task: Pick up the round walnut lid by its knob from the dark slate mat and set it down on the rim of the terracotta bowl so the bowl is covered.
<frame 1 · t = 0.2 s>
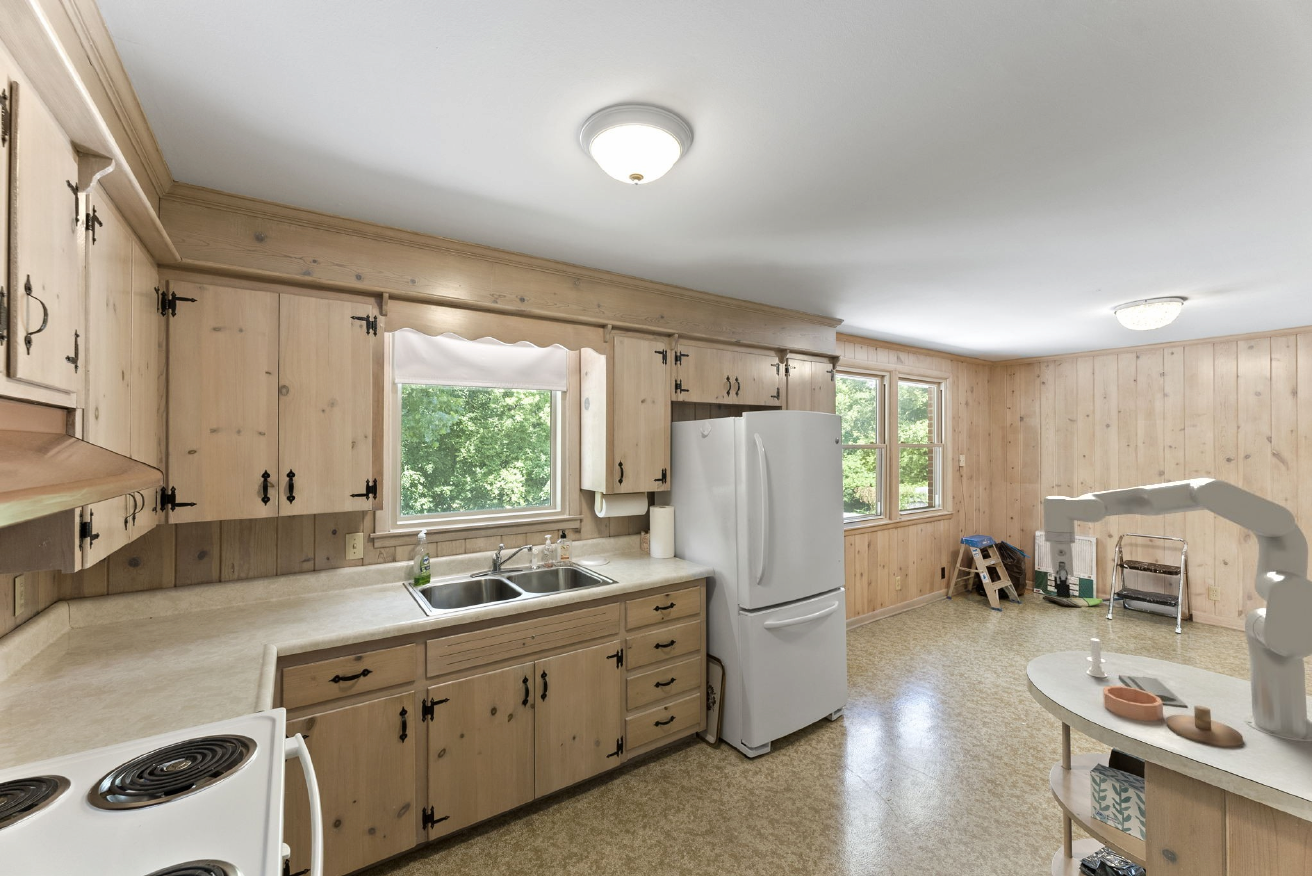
hand: (1062, 593, 167), 31 cm above the countertop, fingers open, 9 cm apart
lid: (1203, 732, 142), point 1 cm above the countertop, touching mat
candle: (1096, 674, 181), on the countertop
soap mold: (1151, 696, 166), on the countertop
bowl: (1132, 713, 155), on the countertop
mat: (1203, 736, 142), on the countertop
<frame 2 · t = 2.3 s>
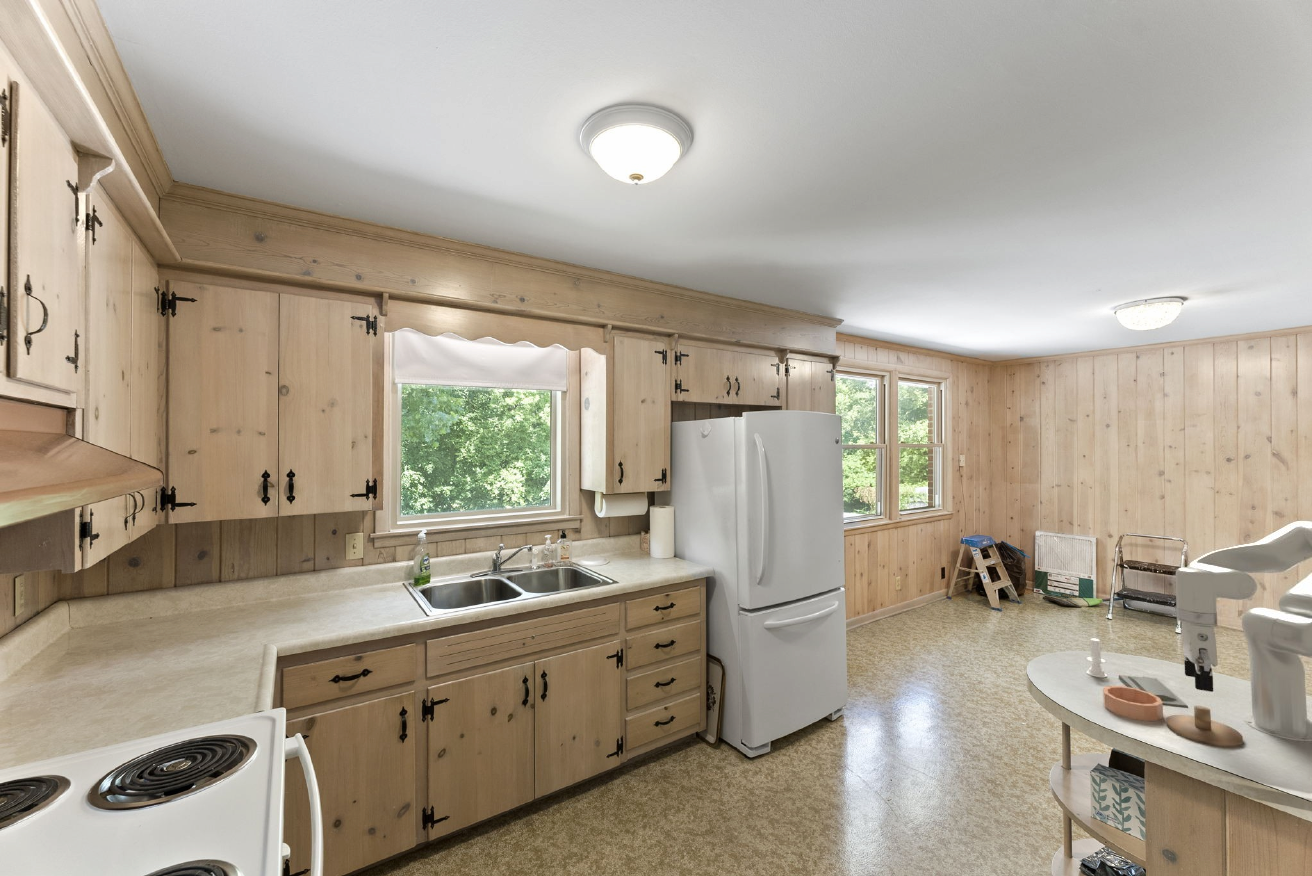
hand: (1198, 683, 142), 14 cm above the countertop, fingers open, 9 cm apart
nothing on the countertop moved.
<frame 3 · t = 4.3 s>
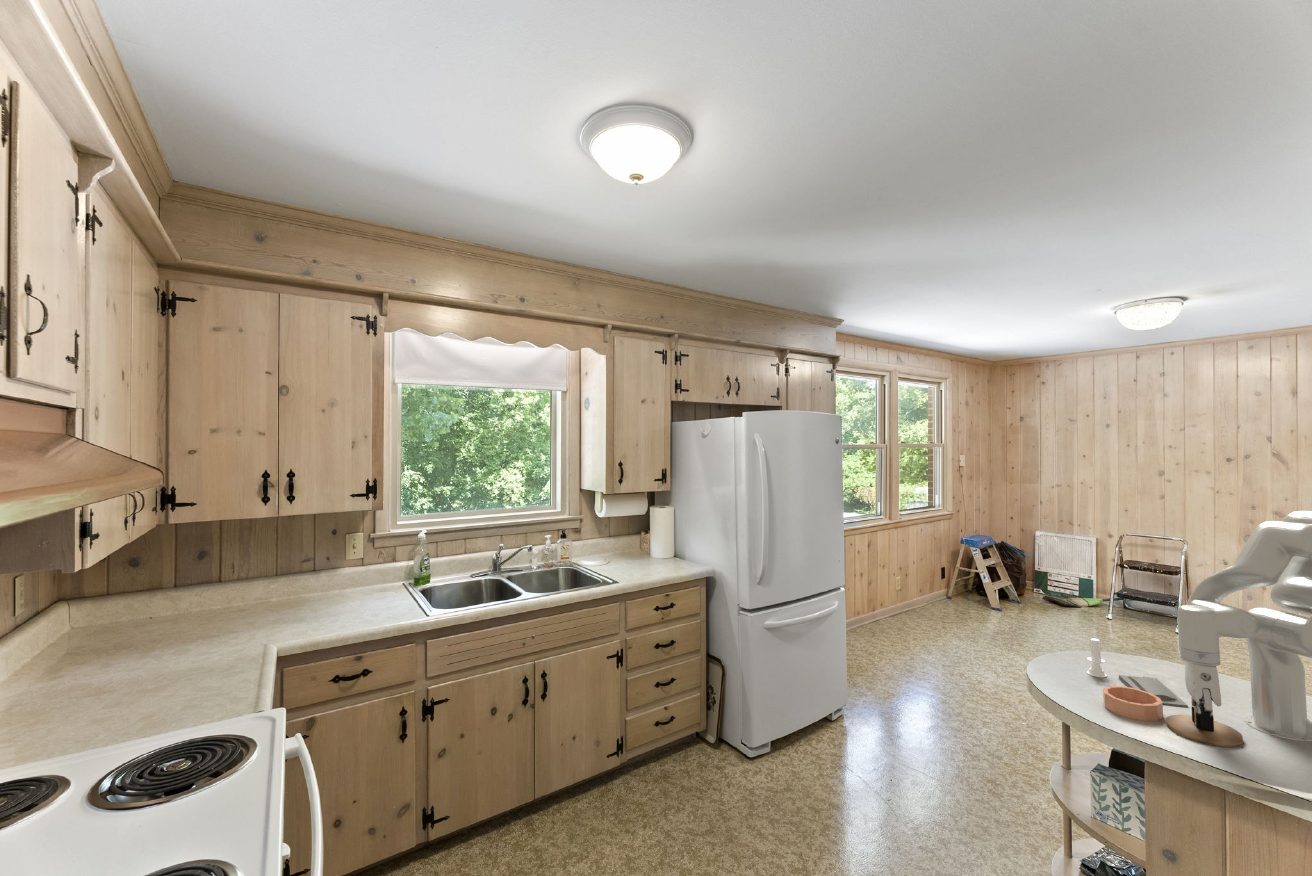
hand: (1203, 725, 142), 3 cm above the countertop, fingers closed on lid, 3 cm apart
lid: (1203, 732, 142), point 1 cm above the countertop, touching gripper, mat
everything else where it was.
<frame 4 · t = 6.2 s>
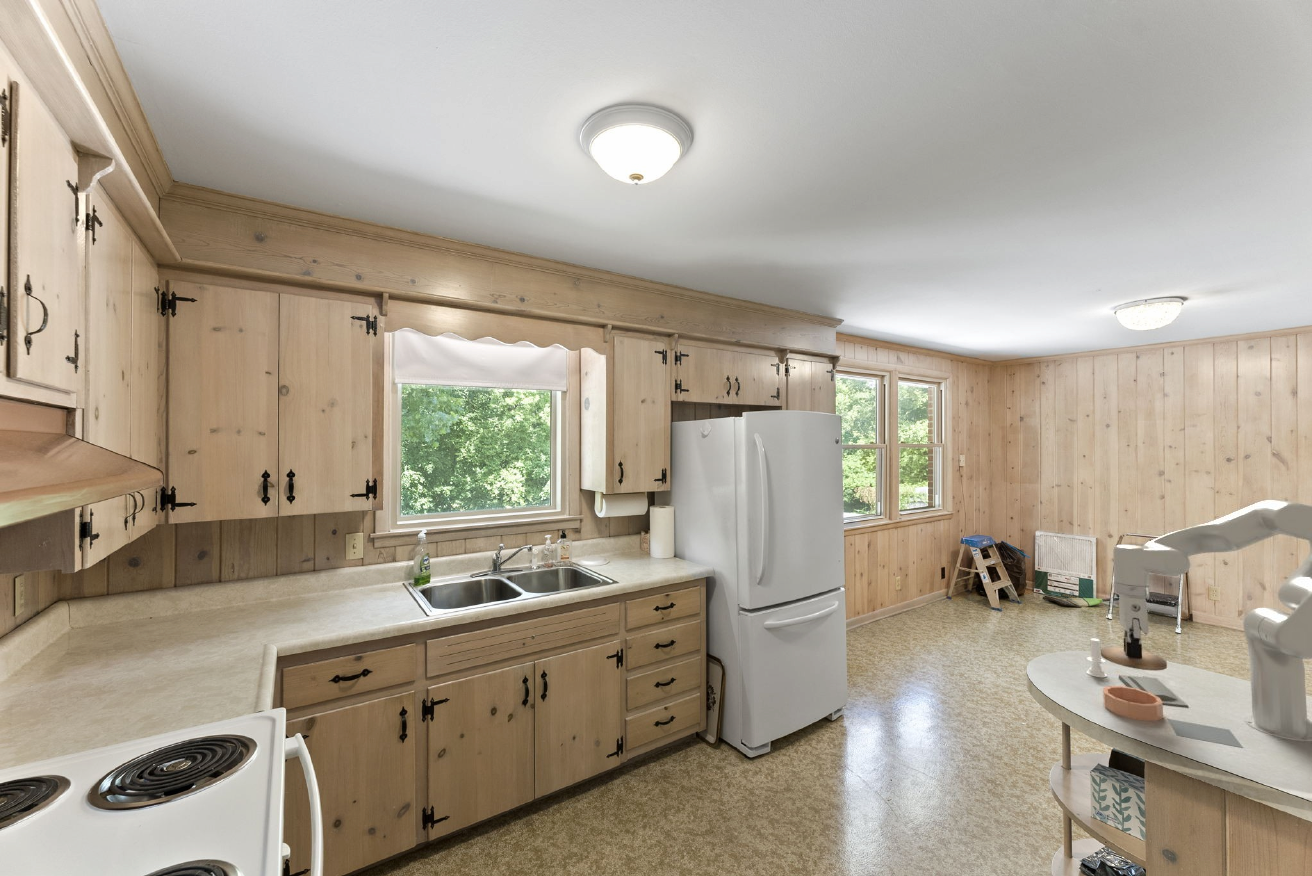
hand: (1132, 654, 154), 17 cm above the countertop, fingers closed on lid, 3 cm apart
lid: (1132, 660, 154), point 15 cm above the countertop, touching gripper
everything else where it was.
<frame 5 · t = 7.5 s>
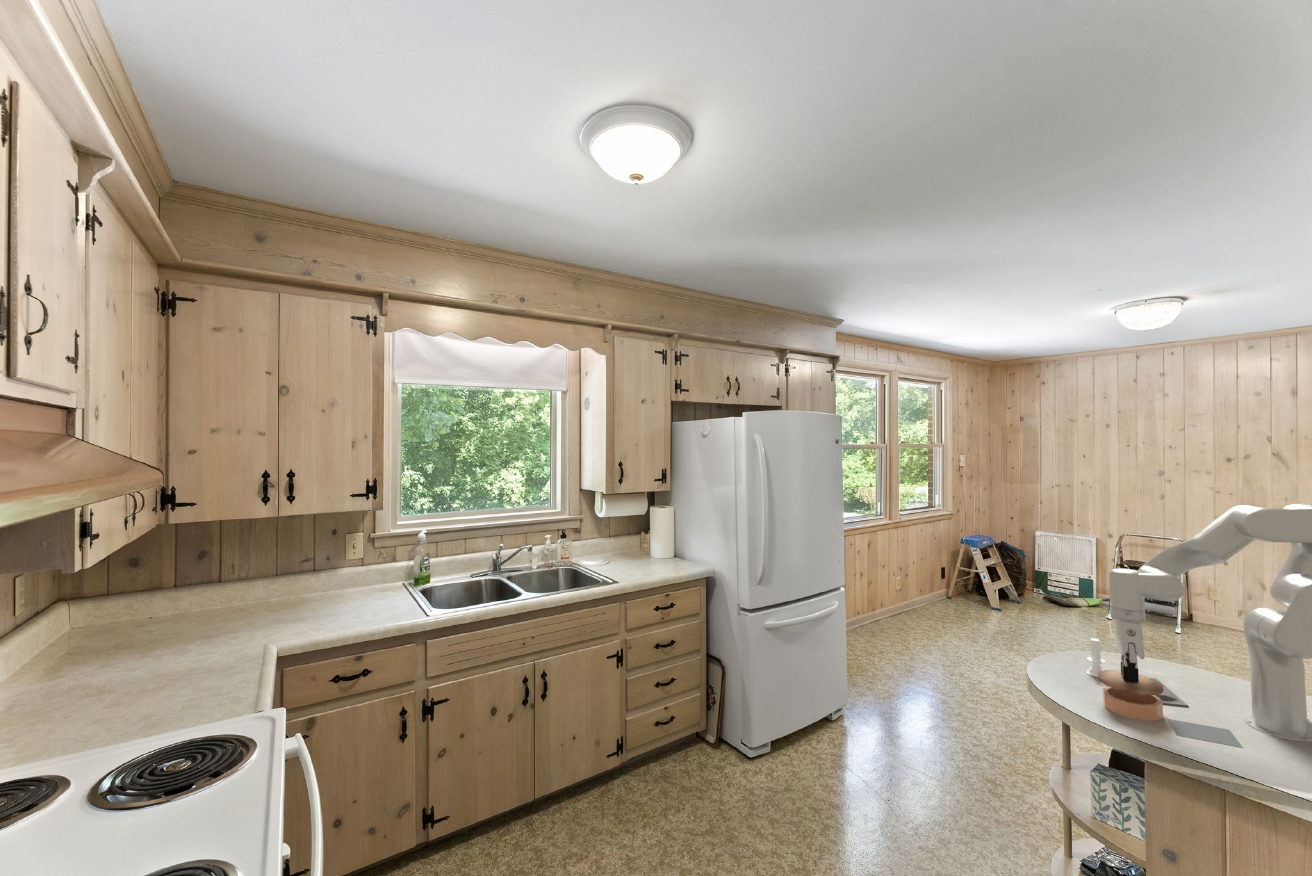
hand: (1129, 678, 155), 10 cm above the countertop, fingers closed on lid, 3 cm apart
lid: (1129, 684, 155), point 8 cm above the countertop, touching gripper
everything else where it was.
when the fingers open (8 cm above the countertop, at t = 8.4 s): lid drops 1 cm, resting on bowl.
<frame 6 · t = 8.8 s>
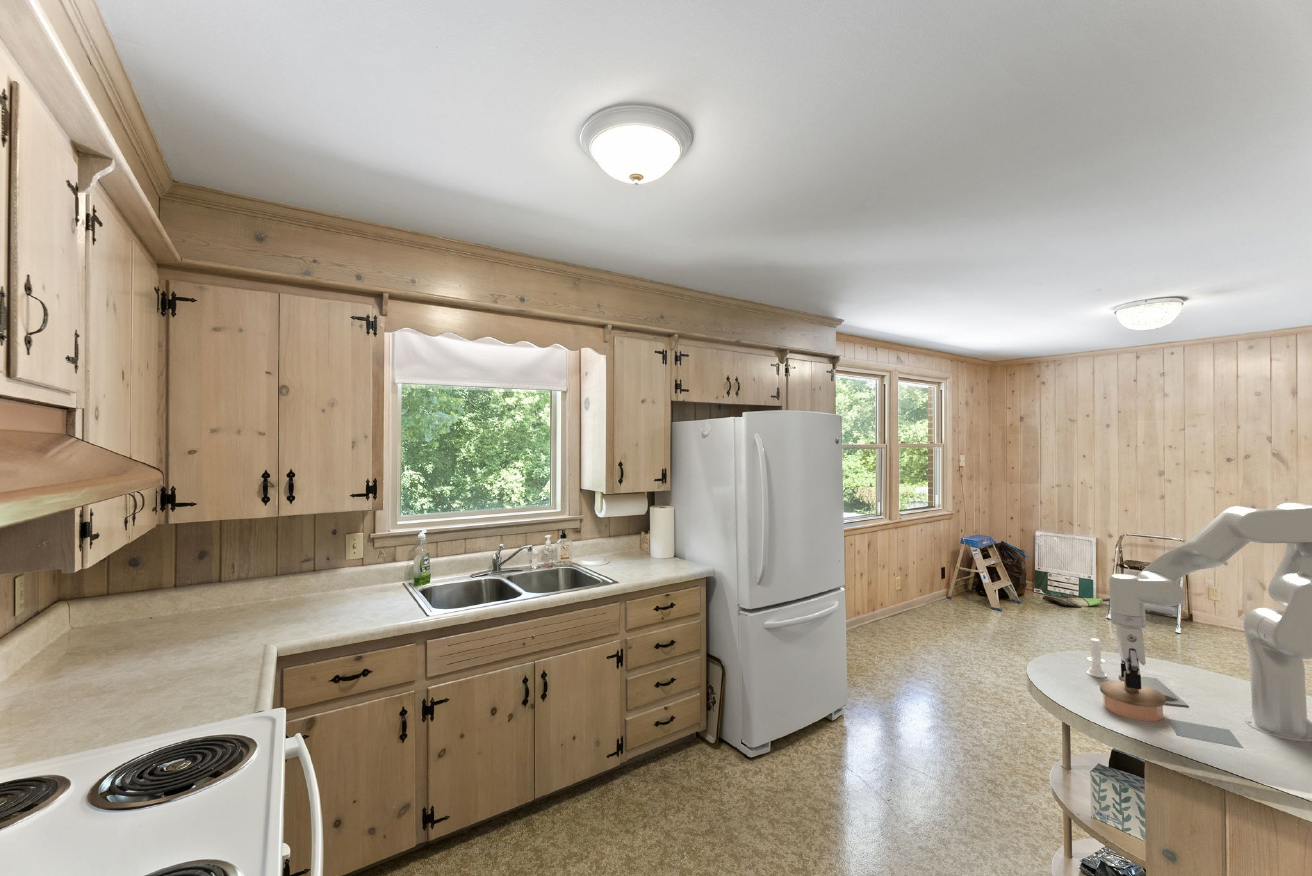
hand: (1131, 682, 155), 9 cm above the countertop, fingers open, 6 cm apart
lid: (1131, 695, 155), point 5 cm above the countertop, touching bowl
everything else where it was.
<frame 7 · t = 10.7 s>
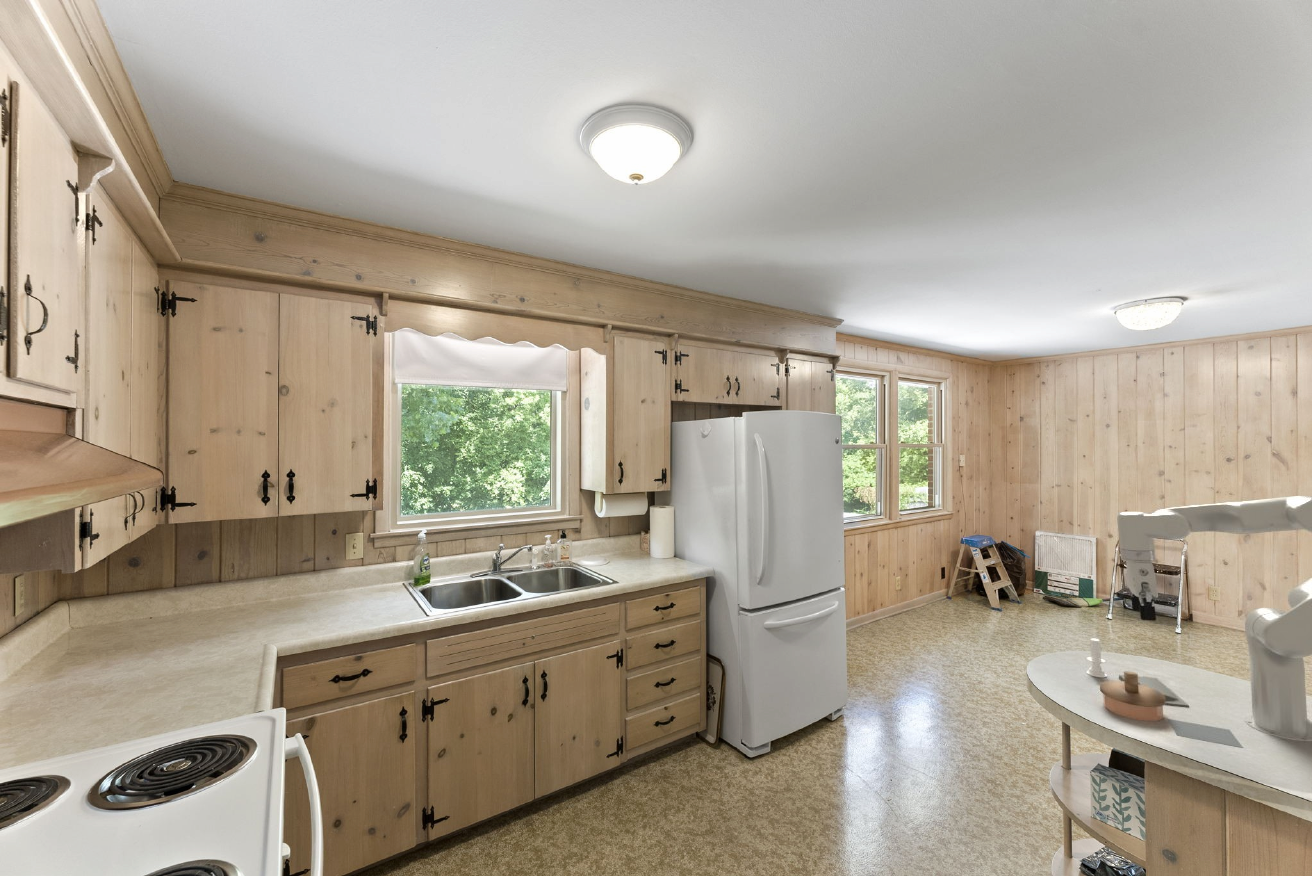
hand: (1143, 615, 158), 27 cm above the countertop, fingers open, 9 cm apart
nothing on the countertop moved.
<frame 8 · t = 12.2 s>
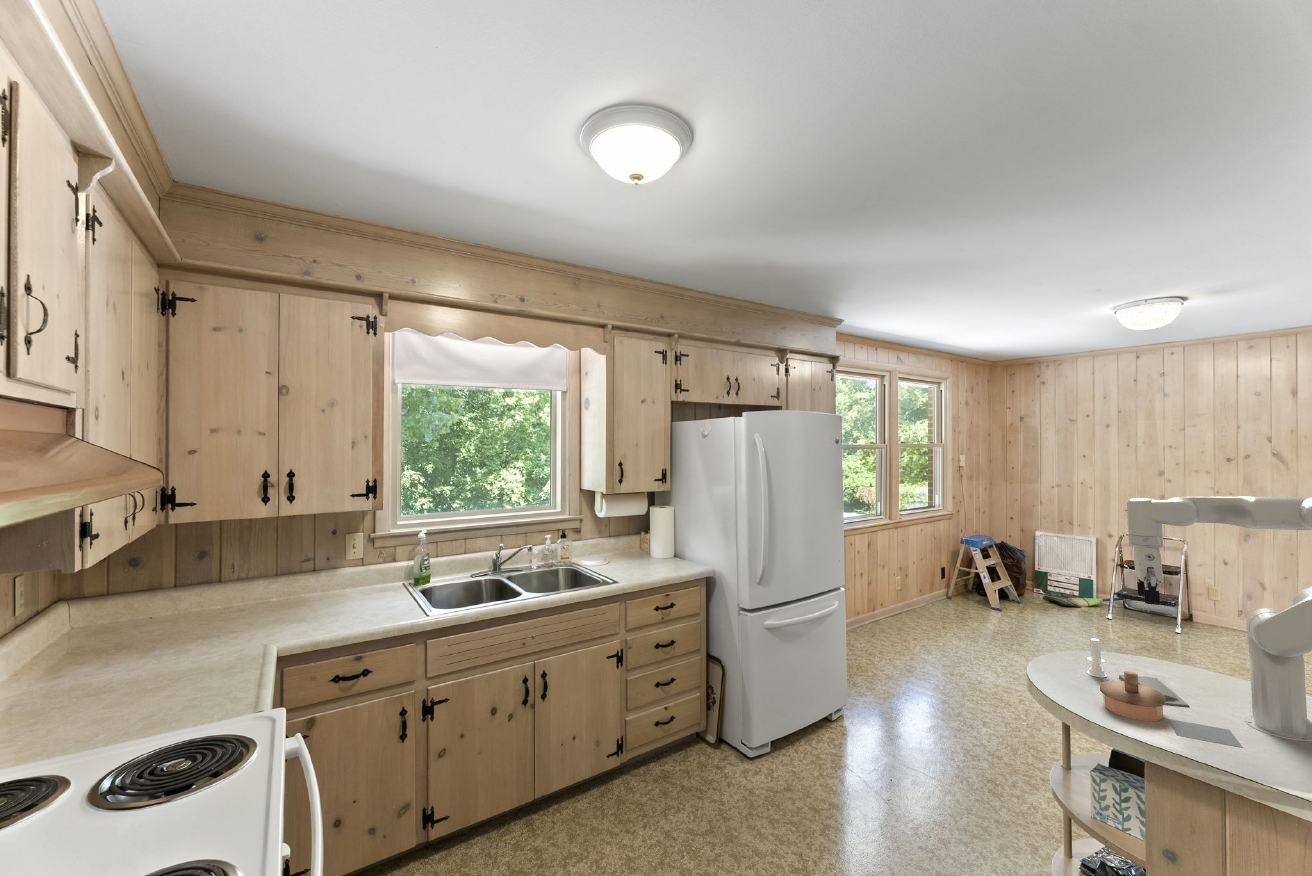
hand: (1148, 599, 160), 30 cm above the countertop, fingers open, 9 cm apart
nothing on the countertop moved.
at the end: lid 0.0 cm off-centre on the bowl, point 5.0 cm above the bowl's base; lid tilted 0°; the gripper is holding nothing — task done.
